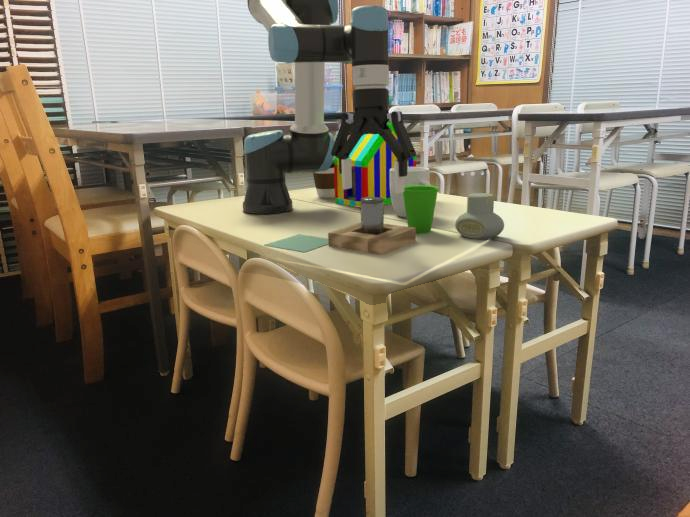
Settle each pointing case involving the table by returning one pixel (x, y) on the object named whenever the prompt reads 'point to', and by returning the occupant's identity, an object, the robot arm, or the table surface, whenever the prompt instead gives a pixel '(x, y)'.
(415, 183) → the mug
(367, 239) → the socket block
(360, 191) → the toy house
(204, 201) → the table surface
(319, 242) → the mat
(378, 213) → the gray metal can
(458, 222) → the air freshener
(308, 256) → the table surface
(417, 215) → the cup
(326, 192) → the coffee cup
